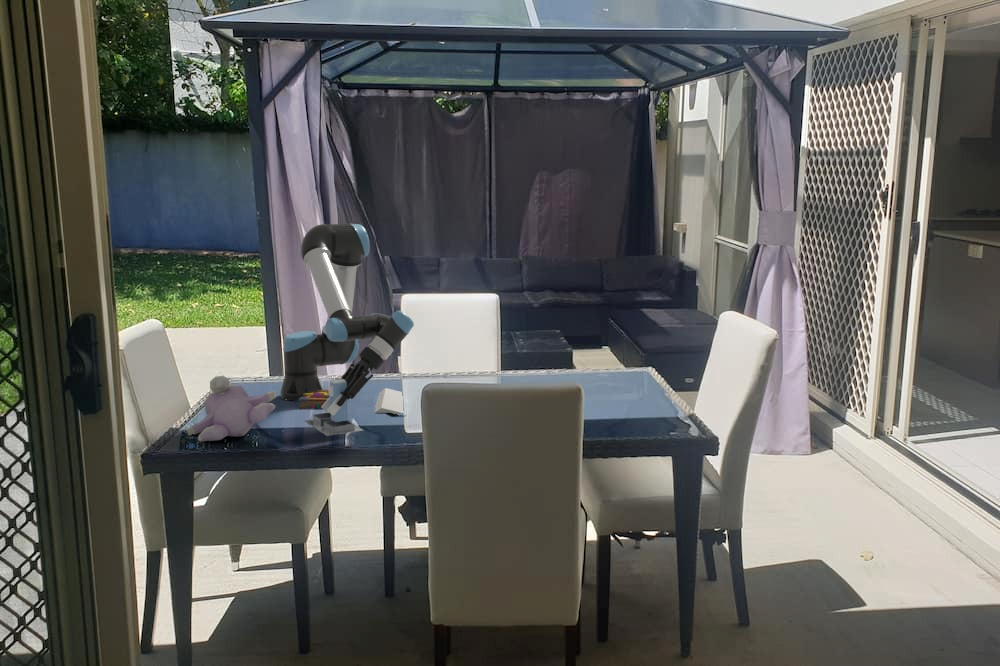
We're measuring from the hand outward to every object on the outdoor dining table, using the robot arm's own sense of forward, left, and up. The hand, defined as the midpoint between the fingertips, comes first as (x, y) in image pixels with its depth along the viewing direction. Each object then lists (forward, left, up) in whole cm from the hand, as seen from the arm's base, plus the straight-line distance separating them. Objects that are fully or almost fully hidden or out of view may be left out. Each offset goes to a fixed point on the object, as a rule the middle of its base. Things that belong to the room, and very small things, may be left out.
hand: (327, 411), depth 267 cm
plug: (0, +4, -3) cm, 5 cm away
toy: (-20, -24, -8) cm, 32 cm away
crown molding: (-24, +32, -8) cm, 40 cm away
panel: (-5, +4, -7) cm, 10 cm away
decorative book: (-35, +10, -8) cm, 37 cm away
